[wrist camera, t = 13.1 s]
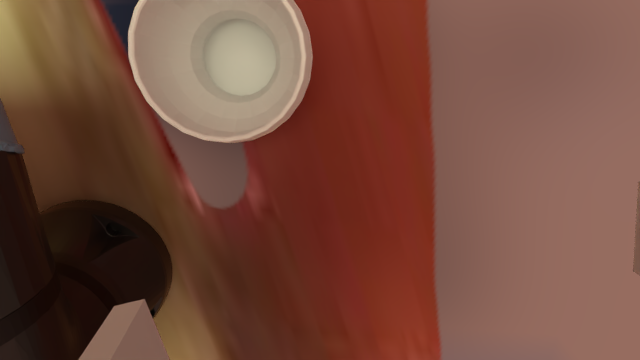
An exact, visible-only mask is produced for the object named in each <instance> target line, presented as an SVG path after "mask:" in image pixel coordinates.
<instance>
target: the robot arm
mask: <svg viewBox="0 0 640 360" xmlns="http://www.w3.org/2000/svg"><path fill="white" fill-rule="evenodd" d="M24 153H25V152H24V148H23V146H22V145H20V144H18V142H17V140H16V137H15V135H14V132H13V130H12V127H11V125H10V122H9V120H8V117H7V114H6V111H5V109H4V106H3V103H2V101H1V99H0V360H170V359H169V357H168V354H167V352H166V349H165V347H164V345H163V342H162V340H161V337H160V335H159V332H158V330H157V328H156V325H155V323H154V320H153V318H154V317H155V316H156V314H157V313H158V311H159V310H160V308H161V306H162V304H163V302H164V300H165V298H166V296H167V294H168V291H169V288H170V285H171V279H172V266H171V261H170V257H169V254H168V251H167V249H166V247H165V245H164V243H163V241H162V240H161V238H160V237H159V235H158V234H157V233H156V232H155V230H154V229H153V228H152V227H151V226H150V225H149V224H147V223H146V222H145V221H144V220H143V219H141V218H140V217H138V216H137V215H135V214H133V213H132V212H130V211H128V210H126V209H123V208H121V207H118V206H116V205H112V204H109V203H104V202H98V201H72V202H66V203H62V204H59V205H56V206H53V207H51V208H49V209H47V210H45V211H43V212H42V213H40V214H39V211H38V208H37V204H36V201H35V197H34V194H33V190H32V187H31V183H30V180H29V177H28V173H27V170H26V166H25V163H24V159H23V156H22V154H24ZM633 271H634V272H635V273H637V274H639V275H640V182H638V199H637V214H636V231H635V247H634V265H633Z"/></svg>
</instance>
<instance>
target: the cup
mask: <svg viewBox="0 0 640 360" xmlns="http://www.w3.org/2000/svg"><path fill="white" fill-rule="evenodd" d="M128 57H129V61H130V64H131V68H132V72H133V75H134V79H135V81H136V83H137V85H138V87H139V89H140V90H141V92H142V94H143V96H144V98H145V99H146V101H147V103H148V104H149V105H150V106H151V107H152V108H153V109H154V110H155V111H156V112H157V113H158V114H159V115H160V117H161V118H162V119H163V120H165V121H166V122H168V123H169V124H171V125H172V126H174V127H175V128H177V129H178V130H180V131H181V132H183V133H186V134H188V135H191V136H194V137H197V138H200V139H202V140H206V141H214V142H223V143H237V142H244V141H250V140H254V139H257V138H259V137H261V136H264V135H266V134H268V133H270V132H273V131H274V130H275V129H276V128H278V127H279V126H280V125H281V124H283V123H284V122H285V121H286V120H288V119H289V118H290V116H291V115H292V114H293V112H294V111H295V110H296V108H297V107H298V106H299V104H300V103H301V101H302V99H303V97H304V94H305V92H306V89H307V87H308V84H309V81H310V76H311V68H312V59H313V55H312V47H311V40H310V33H309V30H308V28H307V25H306V23H305V20H304V18H303V15H302V13H301V10H300V9H299V7H298V6H297V5H296V3H295V2H294V0H139V1H138V3H137V5H136V6H135V8H134V12H133V16H132V19H131V23H130V27H129V31H128Z"/></svg>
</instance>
